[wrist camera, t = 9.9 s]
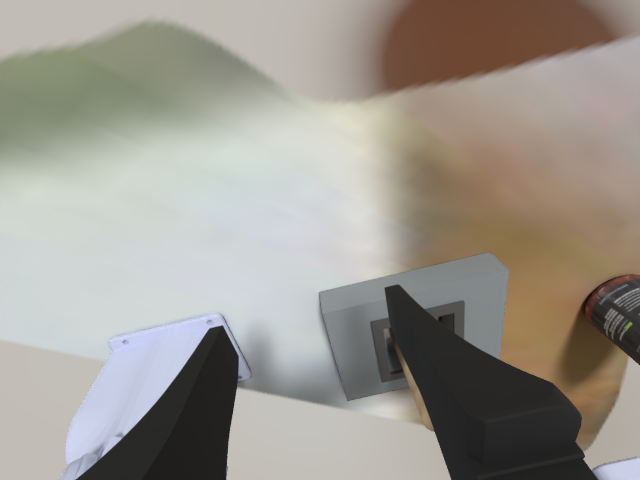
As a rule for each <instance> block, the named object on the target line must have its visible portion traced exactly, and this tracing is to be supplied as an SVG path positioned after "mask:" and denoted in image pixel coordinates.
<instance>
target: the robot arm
mask: <svg viewBox="0 0 640 480" xmlns="http://www.w3.org/2000/svg"><path fill="white" fill-rule="evenodd" d="M384 289H385V296H386V303H387V309H388V316H389V322H390V325H391V328H392V331H393V334H394V337H395V340H396V343H397V345H398V347H399V349H400V351H401V353H402V355H403V358H404V360H405V362H406V364H407V366H408V368H409V370H410V372H411V374H412V376H413V379H414V381H415V383H416V385H417V387H418V389H419V391H420V394H421V396H422V398H423V401H424V404H425V406H426V409H427V412H428V415H429V417H430V420H431V423H432V426H433V428H434V431H435V434H436V437H437V439H438V442H439V445H440V448H441V451H442V454H443V457H444V460H445V462H446V465H447V468H448V471H449V474H450V477H451V480H640V457H633V458H628V459H623V460H618V461H614V462H609V463H605V464H602V465H599V466H597V467H595V468H593V470H592V471H591V469H590V468H589V467H588V465H587V464H586V463H585V461H584V460H583V458H584V457H585V455H584V453H583V451H582V450H581V449H580V447H579V446H578V445H577V443H576V442H575V441H576V438H577V435H578V432H579V430H580V427H581V420H582V417H581V414H580V412H579V411H578V410H577V409H576V407H575V406H574V405H573V404H572V403H571V401H570V400H569V399H568V398H567V397H566V396H565V395H564V394H563V393H562V392H561V391H560V390H559V389H558V388H557V387H556V386H555V385H554V384H553V383H551V382H549V381H546V380H544V379H541V378H539V377H537V376H534V375H532V374H529V373H527V372H524V371H522V370H520V369H517V368H515V367H513V366H511V365H509V364H507V363H505V362H503V361H501V360H499V359H497V358H495V357H493V356H492V355H490V354H488V353H486V352H484V351H482V350H481V349H479V348H477V347H476V346H474V345H472V344H471V343H469V342H467V341H466V340H464V339H463V338H461V337H460V336H458V335H457V334H455V333H454V332H453V331H451V330H450V329H448V328H447V327H446V326H445V325H443V324H442V323H441V322H439V321H438V320H437V319H436V318H434V317H433V316H432V315H431V314H430V313H428V312H427V311H426V310H425V309H424V308H423V307H422V306H420V305H419V304H418V303H417V302H416V301H415V300H414V299H413V298H412V297H411V296H410V295H409V294H408V293H407V292H406V291H405V290H404V289H403V288H402V287H401V286H400V285H399V284H397V285H393V286H388V287H384ZM208 320H211V321H212V322H210V321H208ZM126 340H127V341H126ZM107 345H108V346H109V348H110V349H111V350H112V353H111V354H110V356H109V358H108V359H107V361H106V363H105V364H104V366H103V368H102V370H101V371H100V373H99V375H98V376H97V378H96V380H95V382H94V383H93V385H92V387H91V388H90V390H89V392H88V393H87V395H86V397H85V399H84V400H83V402H82V404H81V406H80V407H79V409H78V410H77V412H76V414H75V416H74V418H73V420H72V422H71V425H70V428H69V431H68V435H67V441H66V450H65V455H66V463H67V467H66V469H65V470H64V471H63V473H62V475H61V476H60V477H59V479H58V480H226V476H227V469H228V467H227V454H228V441H229V433H230V426H231V420H232V414H233V408H234V402H235V396H236V390H237V383H238V381H242V380H246V379H249V378H250V376H251V372H250V370H249V368H248V366H247V364H246V362H245V360H244V358H243V356H242V354H241V352H240V350H239V348H238V346H237V344H236V342H235V340H234V338H233V336H232V334H231V332H230V330H229V328H228V326H227V324H226V322H225V320H224V318H223V316H222V315H220V314H211V315H207V316H202V317H198V318H194V319H190V320H185V321H181V322H177V323H173V324H168V325H164V326H160V327H156V328H151V329H147V330H143V331H138V332H134V333H130V334H126V335H121V336H117V337H113V338H110V340H109V341H108V343H107Z"/></svg>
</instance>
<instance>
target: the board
mask: <svg viewBox="0 0 640 480" xmlns="http://www.w3.org/2000/svg"><path fill="white" fill-rule="evenodd" d="M508 276H509V270H508V269H507V268H506V267H505V266H504V265H503V264H502V263H501V262H500V261H499V260H498V259H497V258H496V257H495V256H494V255H493V254H491V253H490V252H489V253H484V254H480V255H476V256H471V257H467V258H463V259H459V260H454V261H450V262H446V263H442V264H437V265H433V266H429V267H425V268H420V269H416V270H412V271H407V272H403V273H399V274H395V275H390V276H386V277H382V278H378V279H373V280H369V281H365V282H360V283H356V284H352V285H348V286H343V287H339V288H335V289H331V290H326V291H322V292H319V295H320V302H321V309H322V315H323V318H324V322H325V325H326V328H327V332H328V335H329V339H330V342H331V346H332V349H333V353H334V356H335V360H336V363H337V367H338V370H339V374H340V377H341V381H342V384H343V387H344V391H345V394H346V398H347V401H350V400H354V399H359V398H363V397H368V396H372V395H376V394H381V393H385V392H390V391H394V390H399V389H403V388H408V387H410V386H409V384H408V381H407V379H406V376H405V373H404V371H403V368H402V365H401V363H400V360H399V358H398V355H397V352H396V350H395V349H394V350H389V351H387V348H386V345H385V339H384V332H383V329H387V328H391V325H390V322H389V316H388V309H387V303H386V296H385V289H384V287H388V286H393V285H397V284H399V285H400V286H401V287H402V288H403V289H404V290H405V291H406V292H407V293H408V294H409V295H410V296H411V297H412V298H413V299H414V300H415V301H416V302H417V303H418V304H419V305H420V306H422V307H423V308H424V309H425V310H426V311H427V312H428V313H430V314H431V315H432V316H433V317H434V318H435V317H439V316H440V322H441V323H442V324H443V325H445V326H446V327H447V328H448V329H450V330H451V331H453V332H454V333H455V334H457V335H458V336H460V337H461V338H463V339H464V340H466V341H467V342H469V343H471V344H472V345H474V346H476V347H477V348H479V349H481V350H482V351H484V352H486V353H488V354H490V355H492V356H493V357H495V358H497V359H499V360H500V352H501V342H502V333H503V323H504V314H505V305H506V295H507V286H508Z"/></svg>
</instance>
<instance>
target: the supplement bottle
mask: <svg viewBox="0 0 640 480" xmlns="http://www.w3.org/2000/svg"><path fill="white" fill-rule="evenodd" d="M585 315H586V318H587V319H588V321H589V322H590V323H591V324H592V325H594V326H595V327H596V328H597V329H598V330H599V331H600V332H601V333H603V334H604V335H605V336H606V337H607V338H608V339H610V340H611V341H612V342H613V343H614V344H616V345H617V346H618V347H619V348H620V349H621V350H623V351H624V352H625V353H626V354H627V355H629V356H630V357H631V358H632V359H633V360H634V361H635V362H637V363H638V364H639V365H640V275H623V276H619V277H617V278H615V279H612V280H610V281H608V282H606V283H604V284H603V285H601V286H600V287H599V288H598V289H597V290H596V291H595V292H594V293H593V294H592V295H591V296H590V298H589V299H588V302H587V304H586V306H585Z"/></svg>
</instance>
